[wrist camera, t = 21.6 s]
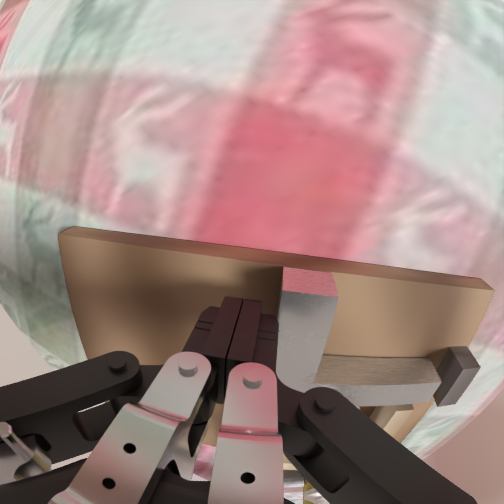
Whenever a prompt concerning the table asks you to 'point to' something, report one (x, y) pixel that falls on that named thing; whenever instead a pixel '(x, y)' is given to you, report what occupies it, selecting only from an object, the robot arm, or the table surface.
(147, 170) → the table surface
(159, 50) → the table surface
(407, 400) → the keeper bolt
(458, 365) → the socket board
